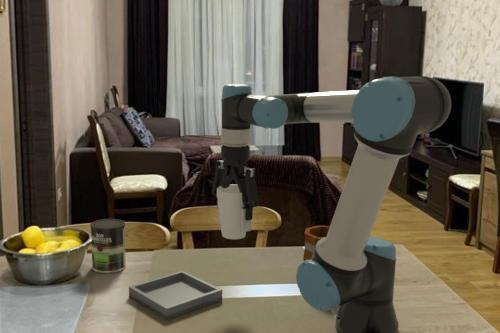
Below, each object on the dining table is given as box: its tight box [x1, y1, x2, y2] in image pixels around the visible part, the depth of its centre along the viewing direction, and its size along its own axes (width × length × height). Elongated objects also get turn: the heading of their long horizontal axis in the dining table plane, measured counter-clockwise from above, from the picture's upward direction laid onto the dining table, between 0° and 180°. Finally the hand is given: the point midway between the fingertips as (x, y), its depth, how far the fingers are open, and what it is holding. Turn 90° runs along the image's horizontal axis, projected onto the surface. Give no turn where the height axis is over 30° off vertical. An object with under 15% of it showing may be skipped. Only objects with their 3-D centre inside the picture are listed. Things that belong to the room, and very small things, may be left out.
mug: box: [303, 224, 330, 262], centre depth 174 cm, size 20×14×15 cm
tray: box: [128, 270, 223, 320], centre depth 161 cm, size 18×18×3 cm
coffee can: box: [90, 218, 127, 274], centre depth 182 cm, size 10×10×14 cm
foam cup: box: [216, 183, 247, 240], centre depth 159 cm, size 10×9×13 cm
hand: (233, 226), depth 159 cm, fingers closed on foam cup, 9 cm apart
